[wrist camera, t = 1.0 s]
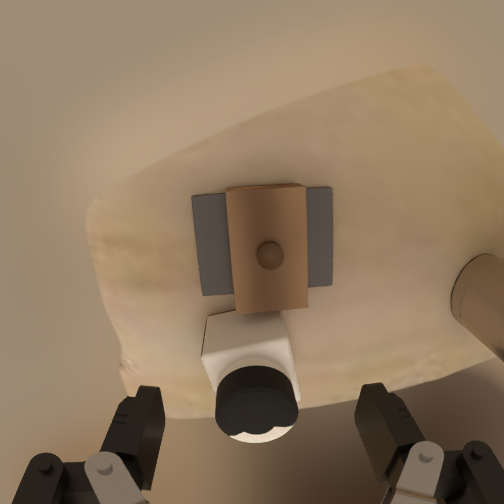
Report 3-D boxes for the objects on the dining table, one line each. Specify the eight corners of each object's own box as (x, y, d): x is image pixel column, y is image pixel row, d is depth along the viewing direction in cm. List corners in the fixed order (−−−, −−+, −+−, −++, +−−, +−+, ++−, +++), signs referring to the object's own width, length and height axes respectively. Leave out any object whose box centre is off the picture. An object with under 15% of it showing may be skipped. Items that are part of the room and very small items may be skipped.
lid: (298, 183, 27) (308, 188, 23) (300, 293, 30) (310, 312, 26) (226, 188, 27) (225, 193, 23) (235, 298, 30) (236, 319, 26)
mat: (329, 186, 28) (332, 187, 27) (329, 281, 31) (332, 285, 30) (192, 195, 28) (191, 197, 27) (203, 291, 30) (202, 295, 29)
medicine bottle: (205, 315, 31) (193, 398, 20) (277, 299, 31) (300, 377, 20) (225, 371, 33) (223, 458, 22) (290, 357, 33) (312, 441, 22)
